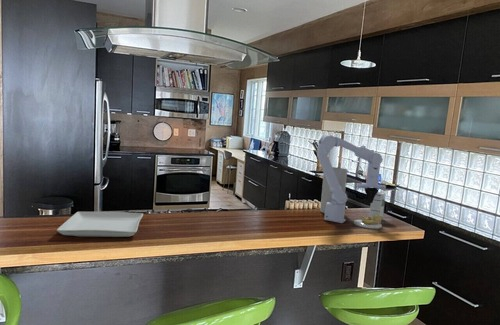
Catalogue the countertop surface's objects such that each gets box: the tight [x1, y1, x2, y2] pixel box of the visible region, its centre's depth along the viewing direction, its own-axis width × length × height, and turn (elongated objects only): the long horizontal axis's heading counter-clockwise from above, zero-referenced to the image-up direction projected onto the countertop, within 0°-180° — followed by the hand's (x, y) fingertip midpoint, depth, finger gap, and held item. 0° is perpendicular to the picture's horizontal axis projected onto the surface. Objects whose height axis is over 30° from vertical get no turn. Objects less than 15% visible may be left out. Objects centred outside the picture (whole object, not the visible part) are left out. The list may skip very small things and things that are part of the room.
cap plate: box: [353, 219, 383, 230], centre depth 173 cm, size 13×13×4 cm
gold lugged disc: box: [361, 215, 382, 224], centre depth 173 cm, size 8×8×4 cm
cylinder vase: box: [319, 166, 348, 214], centre depth 195 cm, size 12×12×25 cm
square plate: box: [56, 211, 144, 238], centre depth 139 cm, size 27×27×4 cm
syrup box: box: [368, 191, 386, 221], centre depth 188 cm, size 6×6×14 cm
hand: (369, 202), depth 178 cm, fingers closed
